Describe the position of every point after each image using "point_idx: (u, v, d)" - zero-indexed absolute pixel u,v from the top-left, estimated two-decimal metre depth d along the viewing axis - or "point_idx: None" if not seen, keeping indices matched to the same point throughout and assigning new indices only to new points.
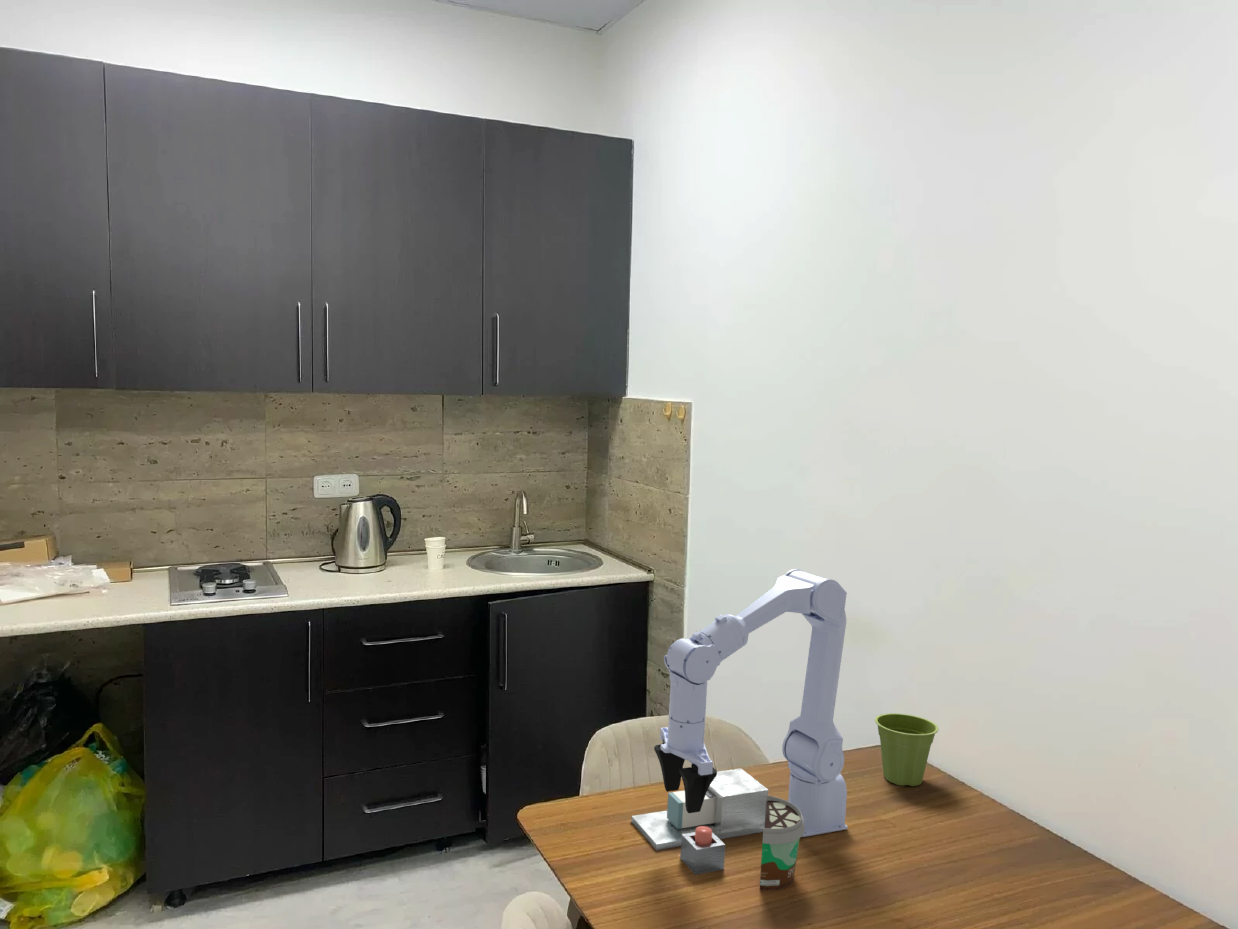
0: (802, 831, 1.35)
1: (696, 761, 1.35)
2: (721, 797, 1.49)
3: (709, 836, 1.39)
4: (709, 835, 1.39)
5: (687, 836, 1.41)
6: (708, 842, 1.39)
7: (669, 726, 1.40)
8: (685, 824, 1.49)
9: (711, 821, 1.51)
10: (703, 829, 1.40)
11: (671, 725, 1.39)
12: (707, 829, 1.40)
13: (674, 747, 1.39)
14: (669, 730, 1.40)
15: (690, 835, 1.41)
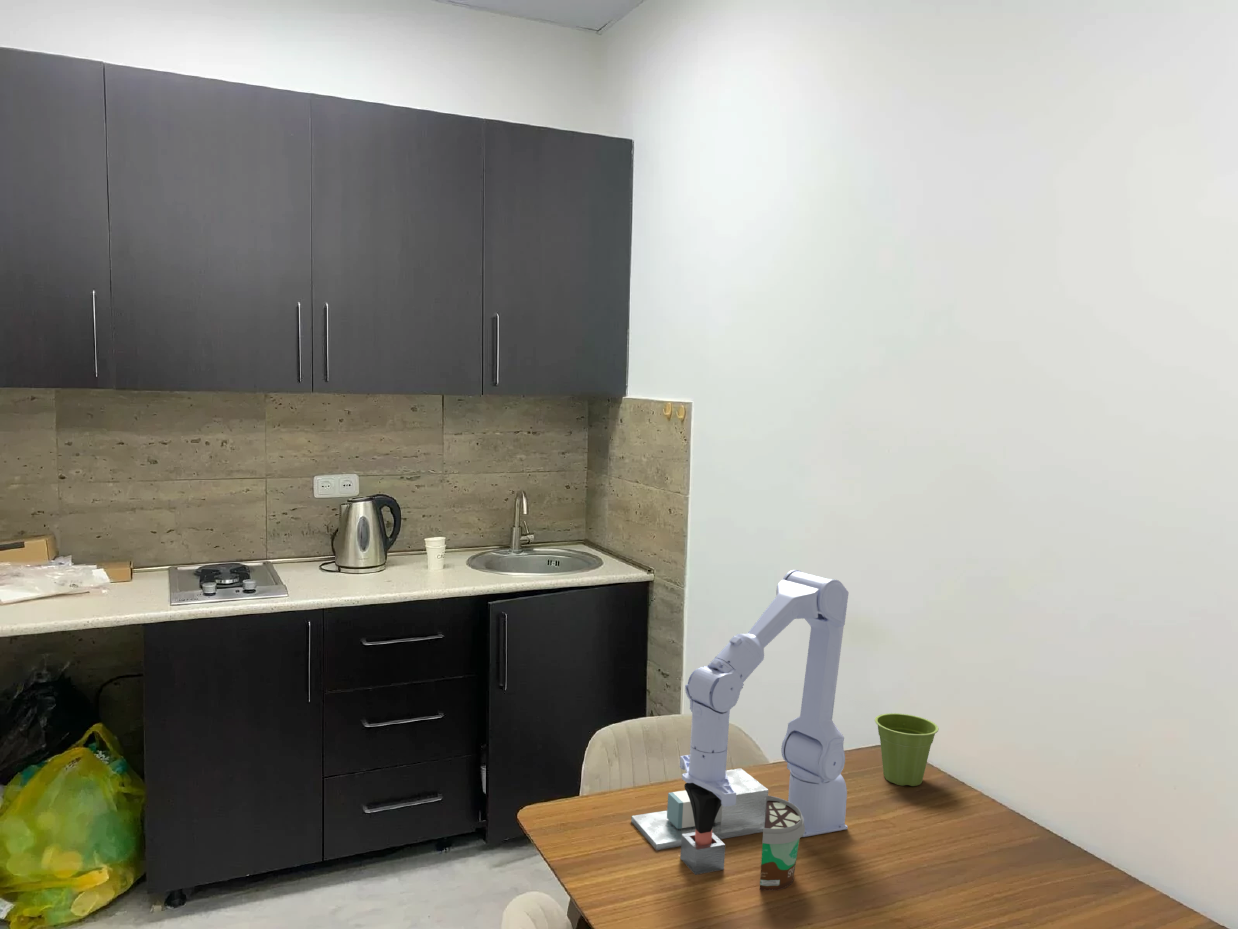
0: (802, 831, 1.35)
1: (719, 792, 1.33)
2: None
3: (709, 836, 1.39)
4: (709, 835, 1.39)
5: (687, 836, 1.41)
6: (708, 842, 1.39)
7: (691, 755, 1.38)
8: (685, 824, 1.49)
9: None
10: None
11: (693, 754, 1.37)
12: None
13: (696, 777, 1.37)
14: (691, 760, 1.38)
15: (690, 835, 1.41)
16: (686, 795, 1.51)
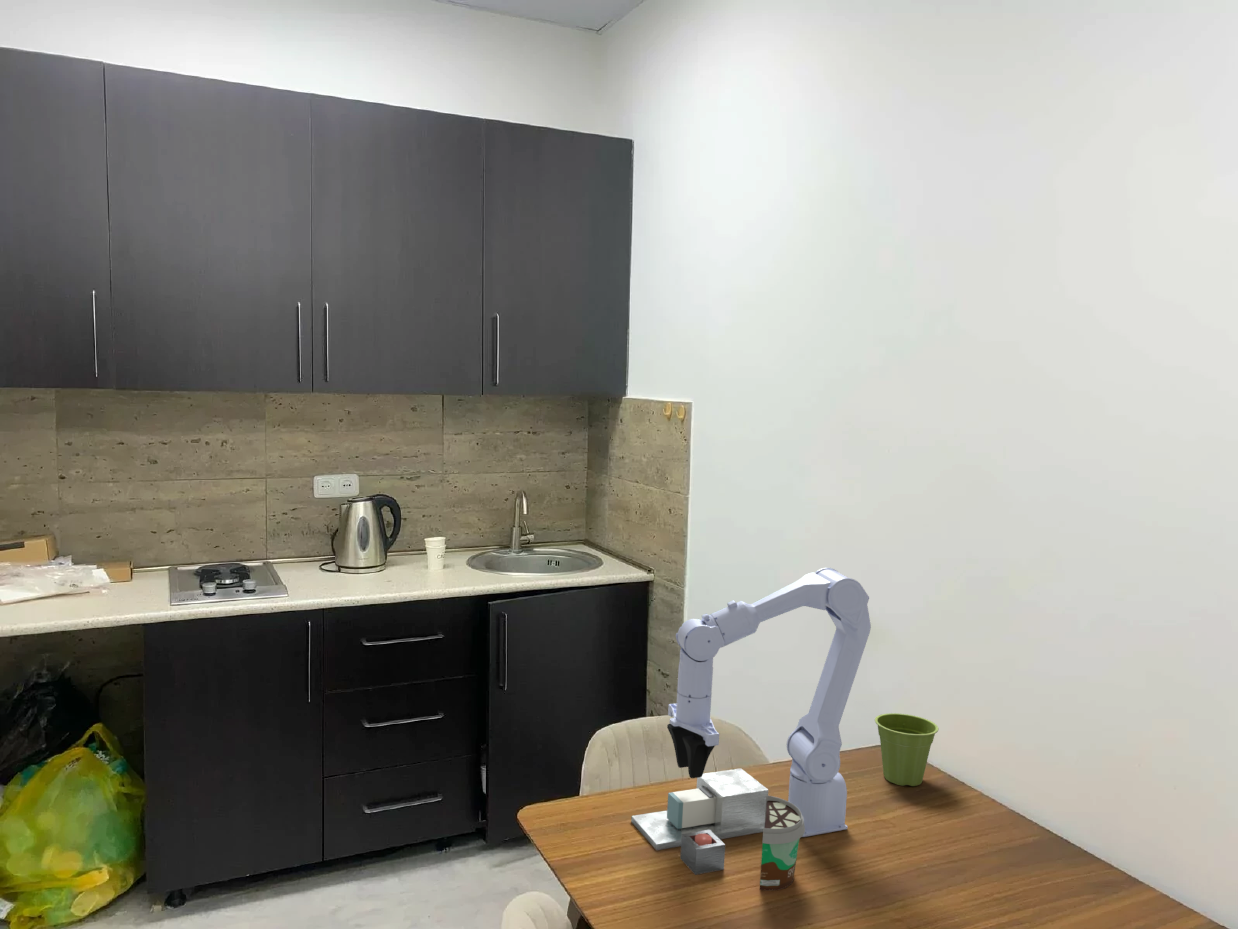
0: (802, 831, 1.35)
1: (703, 733, 1.44)
2: (721, 797, 1.49)
3: None
4: (709, 843, 1.39)
5: (687, 836, 1.41)
6: None
7: (677, 701, 1.49)
8: (685, 824, 1.49)
9: (711, 821, 1.51)
10: (703, 836, 1.40)
11: (679, 700, 1.48)
12: (706, 837, 1.40)
13: (682, 721, 1.48)
14: (678, 705, 1.49)
15: (690, 835, 1.41)
16: (686, 795, 1.51)
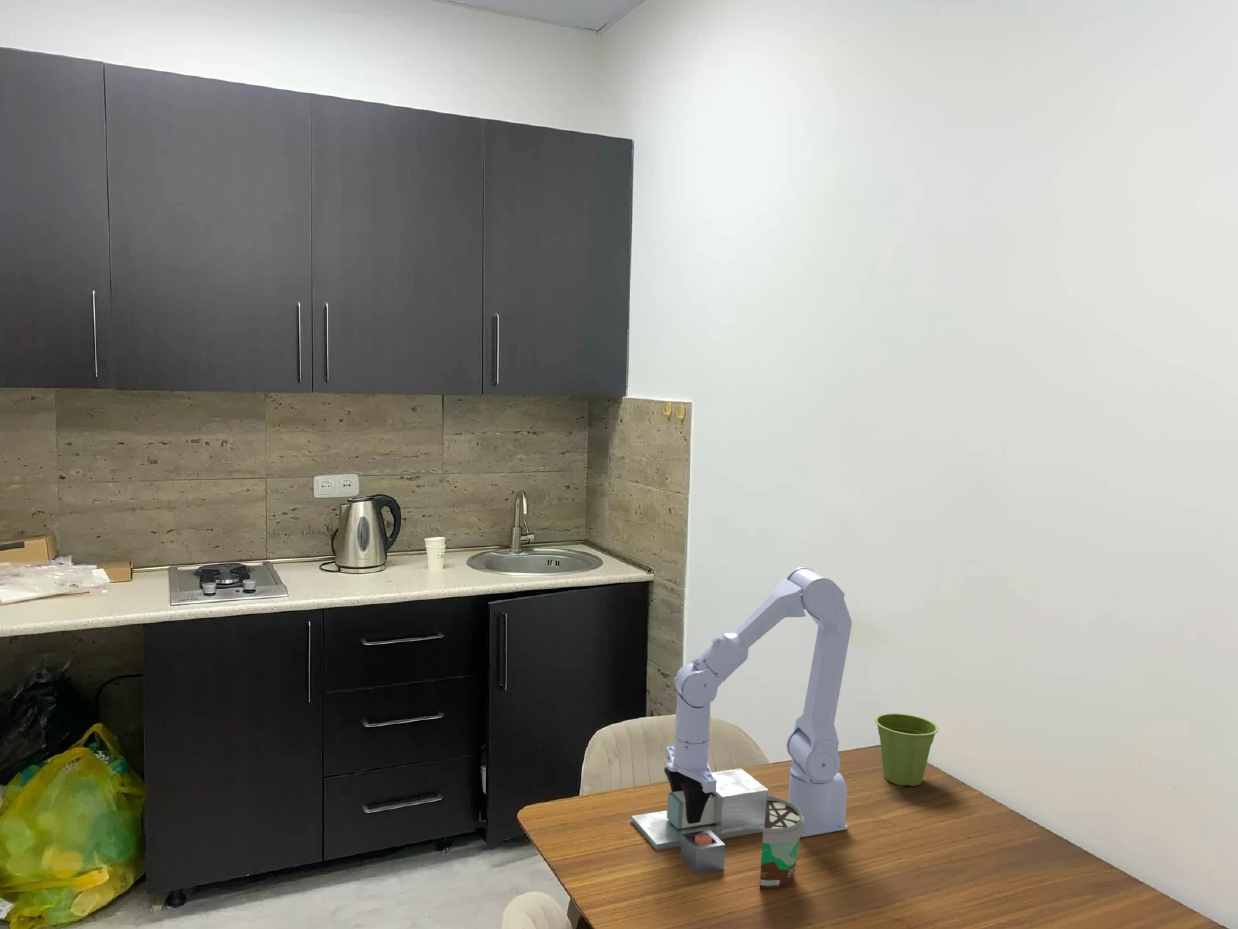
0: (802, 831, 1.35)
1: (701, 779, 1.45)
2: (721, 797, 1.49)
3: None
4: (709, 843, 1.39)
5: (687, 836, 1.41)
6: None
7: (675, 746, 1.50)
8: (685, 824, 1.49)
9: (711, 821, 1.51)
10: (703, 836, 1.40)
11: (677, 745, 1.49)
12: (706, 837, 1.40)
13: (680, 766, 1.48)
14: (675, 750, 1.49)
15: (690, 835, 1.41)
16: None
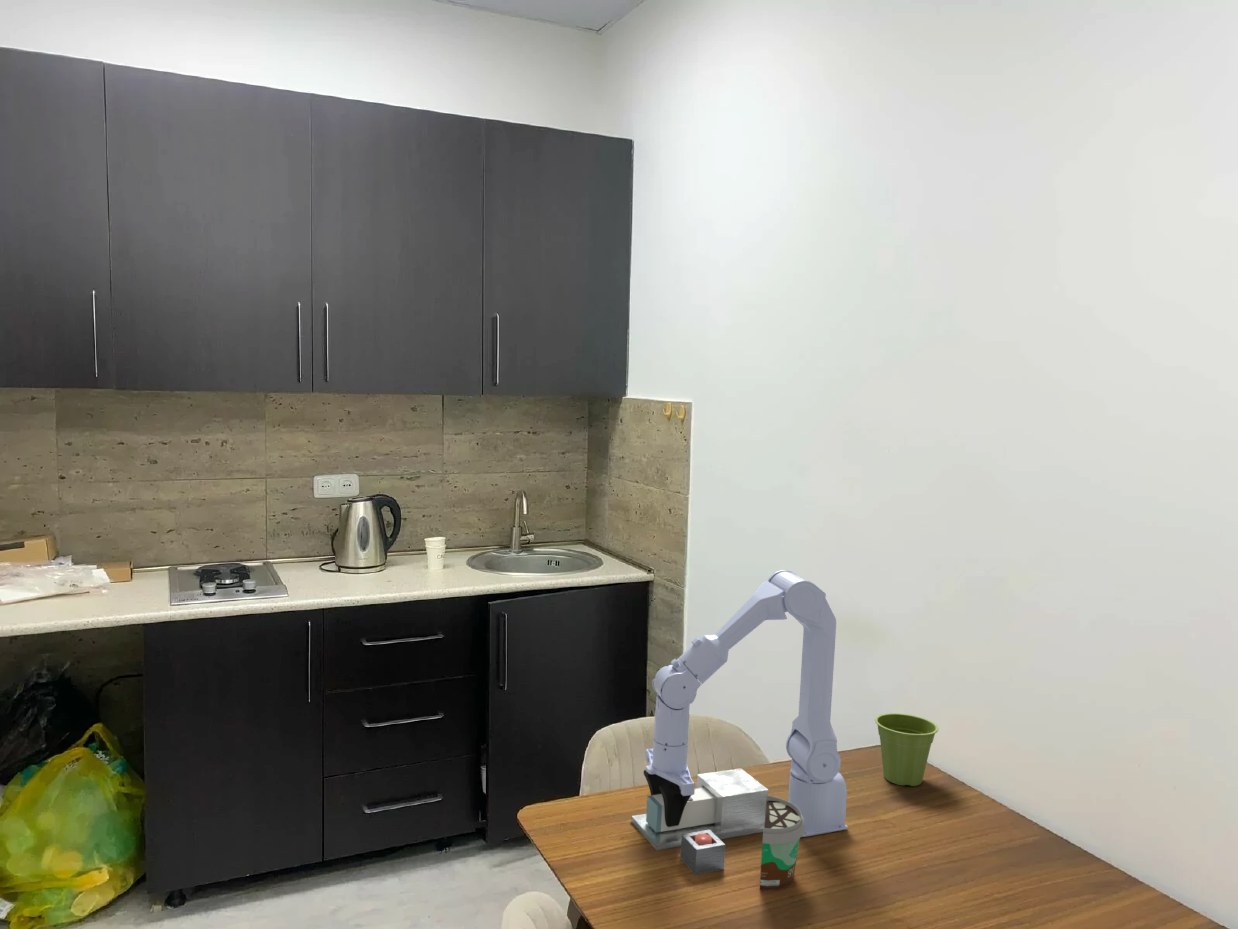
0: (802, 831, 1.35)
1: (679, 782, 1.43)
2: (721, 797, 1.49)
3: None
4: (709, 843, 1.39)
5: (687, 836, 1.41)
6: None
7: (654, 749, 1.48)
8: (664, 827, 1.48)
9: (690, 824, 1.50)
10: (703, 836, 1.40)
11: (656, 748, 1.47)
12: (706, 837, 1.40)
13: (659, 768, 1.47)
14: (654, 753, 1.48)
15: (690, 835, 1.41)
16: None
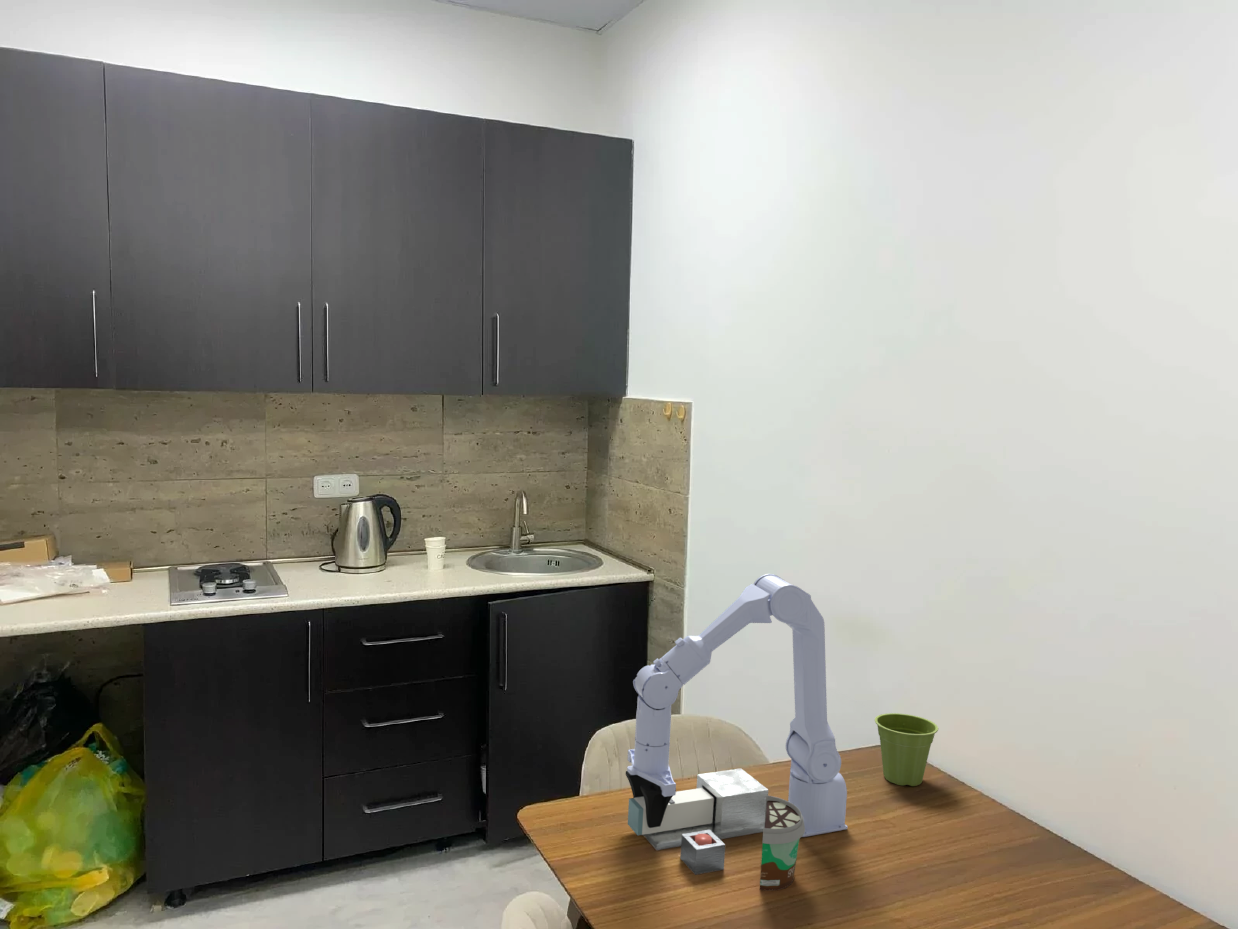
0: (802, 831, 1.35)
1: (660, 783, 1.42)
2: (721, 797, 1.49)
3: None
4: (709, 843, 1.39)
5: (687, 836, 1.41)
6: None
7: (635, 749, 1.47)
8: (645, 830, 1.46)
9: (672, 827, 1.48)
10: (703, 836, 1.40)
11: (637, 748, 1.46)
12: (706, 837, 1.40)
13: (640, 769, 1.46)
14: (635, 753, 1.47)
15: (690, 835, 1.41)
16: None
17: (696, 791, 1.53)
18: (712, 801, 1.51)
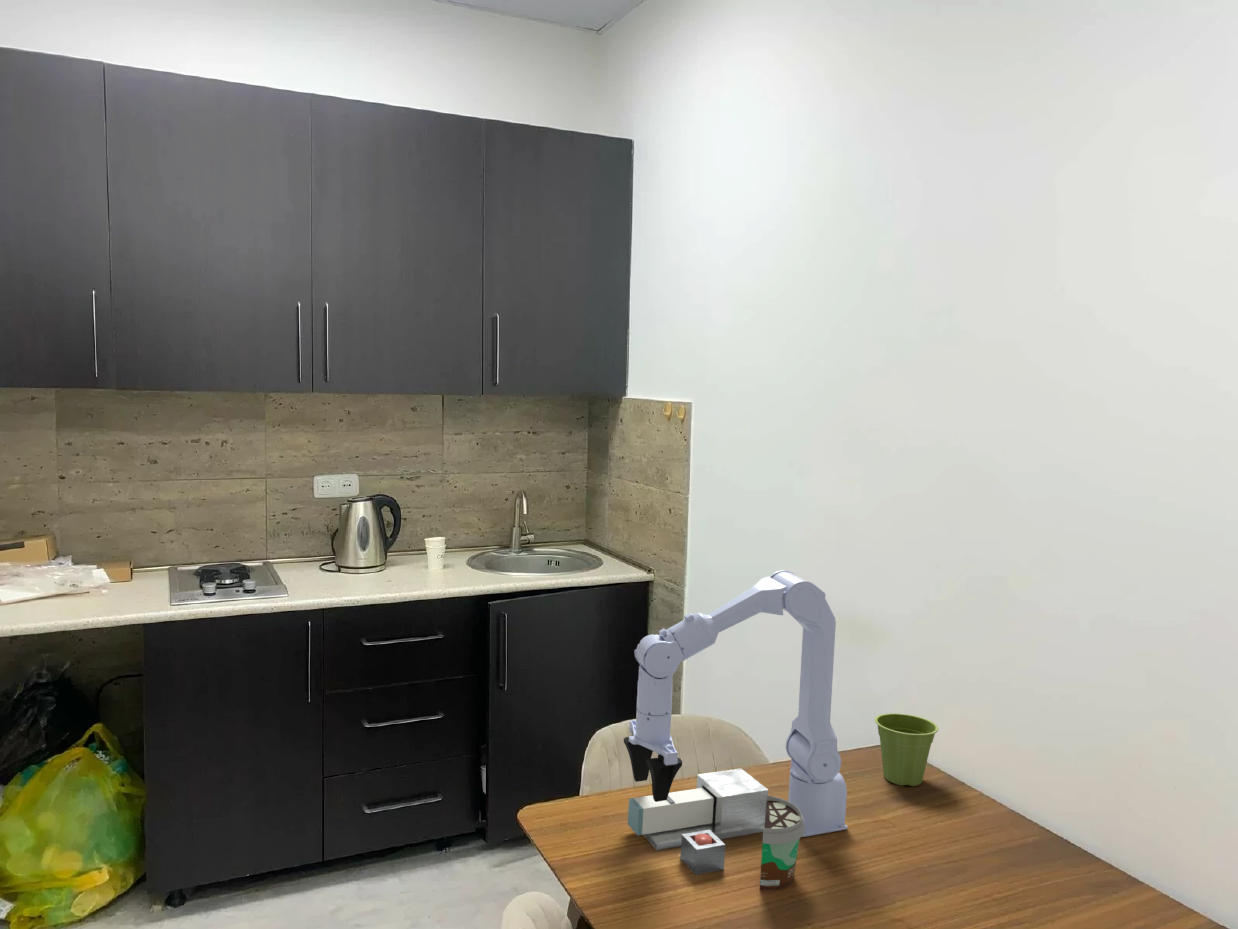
0: (802, 831, 1.35)
1: (662, 752, 1.42)
2: (721, 797, 1.49)
3: None
4: (709, 843, 1.39)
5: (687, 836, 1.41)
6: None
7: (637, 719, 1.46)
8: (645, 830, 1.46)
9: (672, 827, 1.48)
10: (703, 836, 1.40)
11: (639, 718, 1.46)
12: (706, 837, 1.40)
13: (642, 739, 1.45)
14: (637, 723, 1.46)
15: (690, 835, 1.41)
16: (647, 801, 1.48)
17: (696, 791, 1.53)
18: (712, 801, 1.51)
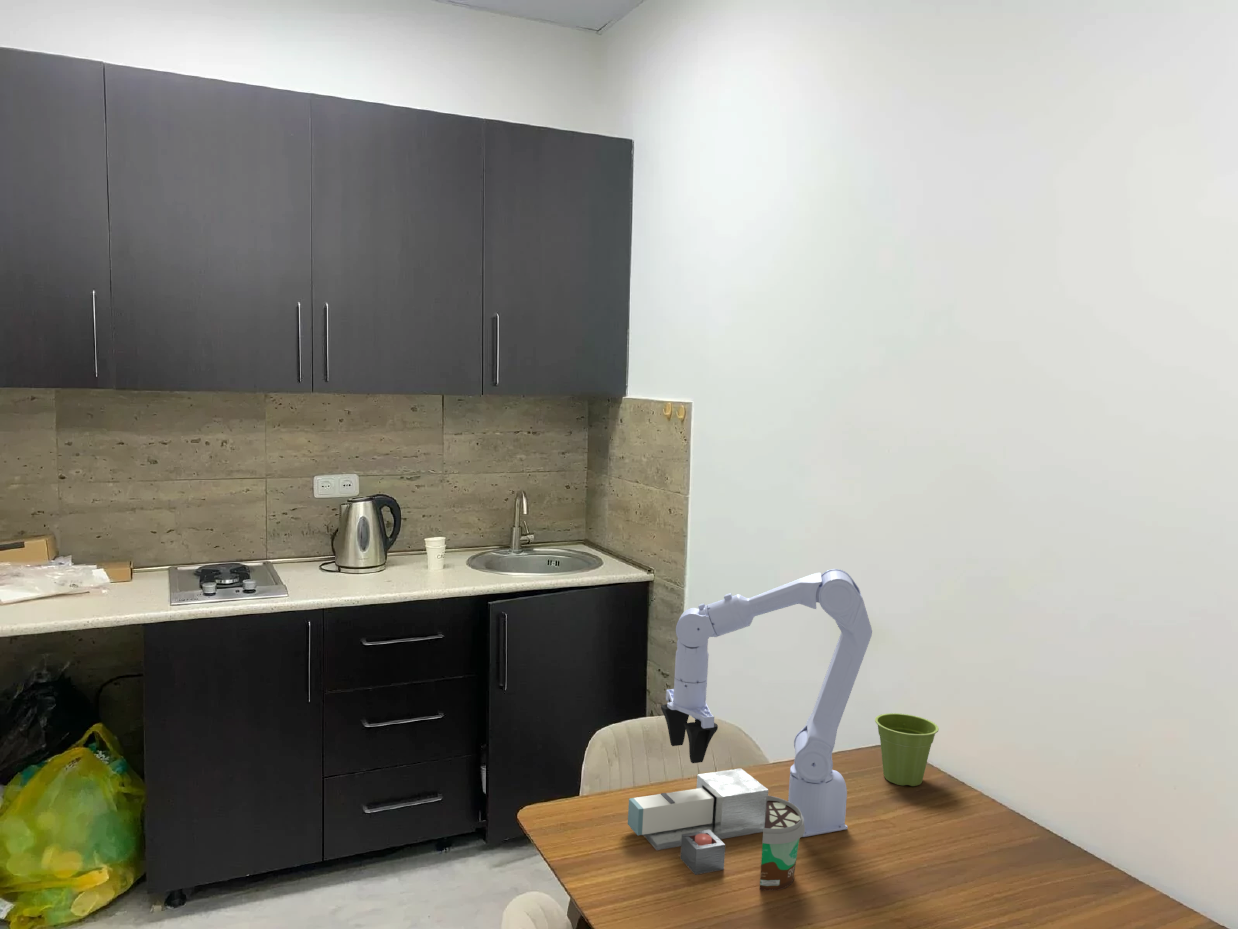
0: (802, 831, 1.35)
1: (699, 716, 1.52)
2: (721, 797, 1.49)
3: None
4: (709, 843, 1.39)
5: (687, 836, 1.41)
6: None
7: (675, 686, 1.57)
8: (645, 830, 1.46)
9: (672, 827, 1.48)
10: (703, 836, 1.40)
11: (677, 685, 1.56)
12: (706, 837, 1.40)
13: (679, 704, 1.55)
14: (675, 690, 1.56)
15: (690, 835, 1.41)
16: (647, 801, 1.48)
17: (696, 791, 1.53)
18: (712, 801, 1.51)
